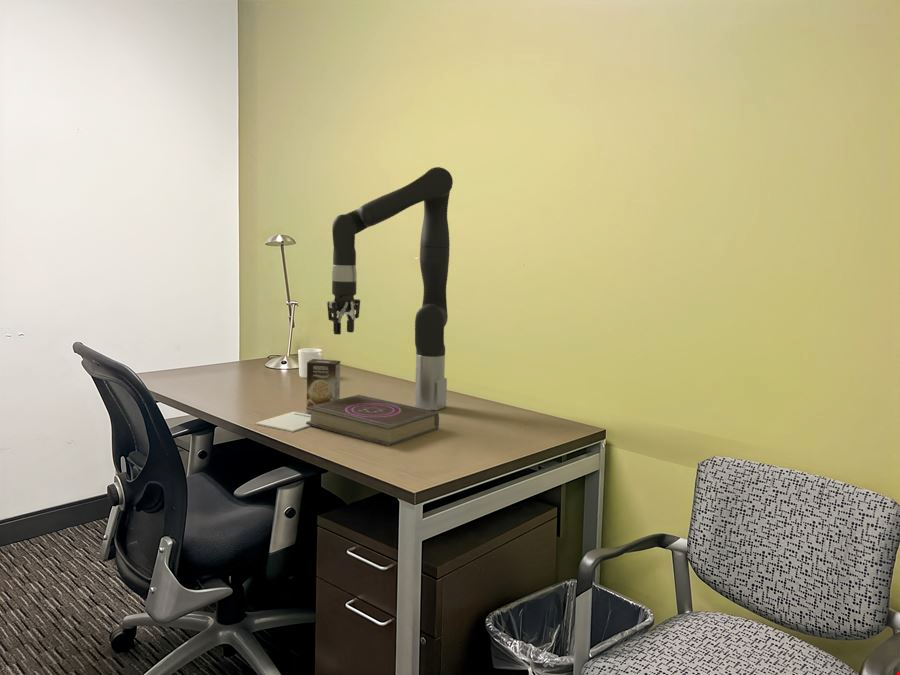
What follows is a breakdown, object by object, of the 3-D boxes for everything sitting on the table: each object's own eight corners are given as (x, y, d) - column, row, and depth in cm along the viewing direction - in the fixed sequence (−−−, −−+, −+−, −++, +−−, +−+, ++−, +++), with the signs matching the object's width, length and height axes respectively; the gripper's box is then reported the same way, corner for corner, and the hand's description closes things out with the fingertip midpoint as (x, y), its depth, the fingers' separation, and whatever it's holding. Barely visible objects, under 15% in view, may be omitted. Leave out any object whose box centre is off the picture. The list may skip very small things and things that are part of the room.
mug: (293, 376, 264) (293, 350, 263) (310, 373, 271) (310, 347, 270) (313, 380, 258) (313, 353, 256) (330, 377, 265) (330, 350, 264)
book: (306, 424, 197) (306, 407, 196) (359, 410, 215) (359, 394, 214) (388, 446, 179) (388, 427, 179) (438, 428, 197) (439, 411, 197)
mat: (329, 419, 204) (329, 418, 204) (292, 432, 190) (293, 430, 190) (293, 412, 210) (293, 411, 210) (255, 424, 196) (255, 422, 196)
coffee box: (305, 414, 209) (305, 362, 207) (311, 409, 215) (311, 358, 213) (335, 416, 208) (335, 363, 206) (340, 410, 215) (340, 359, 212)
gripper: (339, 281, 207) (339, 336, 209) (367, 279, 219) (367, 332, 222) (319, 279, 210) (319, 334, 213) (348, 278, 223) (348, 330, 225)
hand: (343, 333), depth 217 cm, fingers open, 6 cm apart
